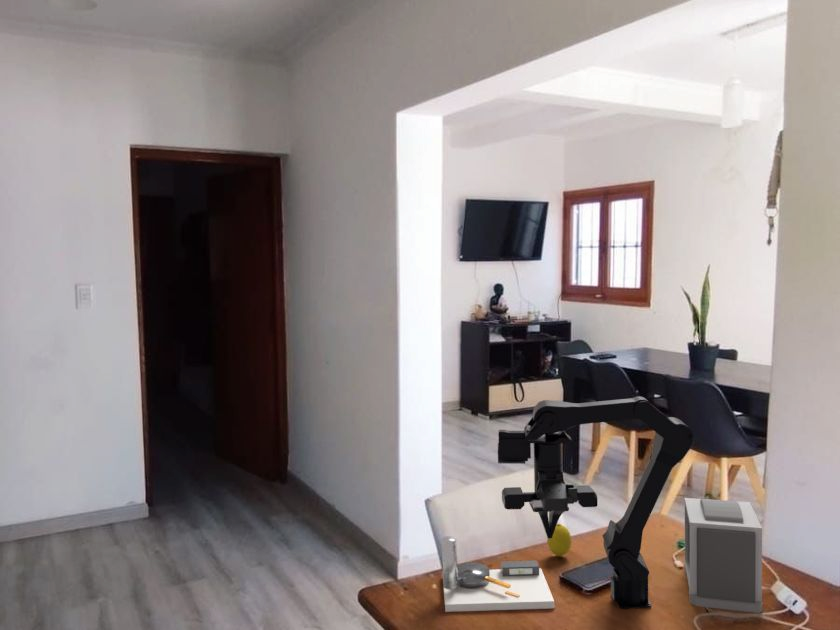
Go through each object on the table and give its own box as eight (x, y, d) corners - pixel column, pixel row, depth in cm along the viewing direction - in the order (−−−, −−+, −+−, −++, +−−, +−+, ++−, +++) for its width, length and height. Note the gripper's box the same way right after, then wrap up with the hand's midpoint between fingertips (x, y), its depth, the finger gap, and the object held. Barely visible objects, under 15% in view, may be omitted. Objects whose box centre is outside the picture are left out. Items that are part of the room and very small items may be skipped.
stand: (541, 574, 152) (540, 559, 151) (554, 608, 137) (554, 591, 136) (442, 577, 152) (442, 562, 151) (445, 611, 137) (444, 594, 136)
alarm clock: (684, 566, 154) (684, 487, 152) (748, 572, 150) (748, 491, 148) (690, 605, 136) (690, 516, 135) (763, 613, 132) (763, 522, 131)
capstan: (520, 585, 143) (519, 534, 142) (485, 609, 134) (483, 554, 133) (467, 567, 152) (466, 519, 151) (431, 588, 143) (429, 536, 142)
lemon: (565, 563, 157) (564, 530, 156) (543, 558, 160) (542, 525, 159) (575, 555, 161) (574, 522, 160) (554, 549, 164) (553, 517, 164)
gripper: (507, 476, 131) (509, 555, 132) (604, 474, 131) (605, 552, 132) (500, 460, 142) (502, 533, 143) (590, 457, 142) (590, 530, 143)
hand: (549, 537), depth 140 cm, fingers closed
